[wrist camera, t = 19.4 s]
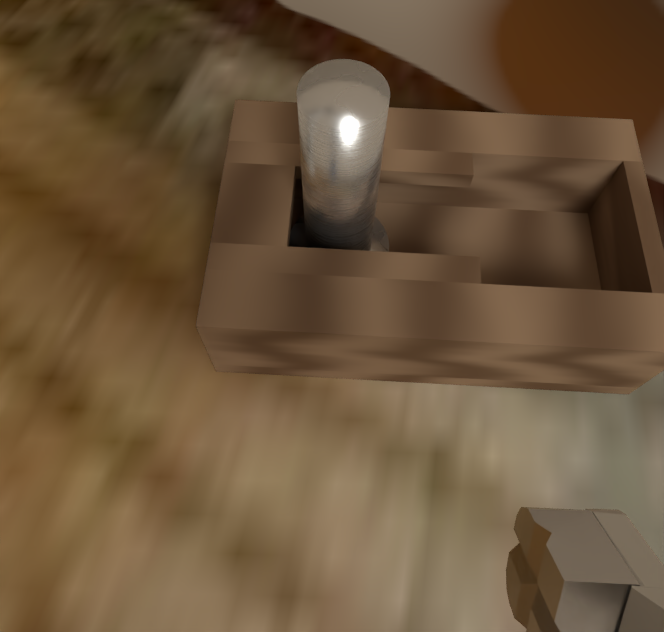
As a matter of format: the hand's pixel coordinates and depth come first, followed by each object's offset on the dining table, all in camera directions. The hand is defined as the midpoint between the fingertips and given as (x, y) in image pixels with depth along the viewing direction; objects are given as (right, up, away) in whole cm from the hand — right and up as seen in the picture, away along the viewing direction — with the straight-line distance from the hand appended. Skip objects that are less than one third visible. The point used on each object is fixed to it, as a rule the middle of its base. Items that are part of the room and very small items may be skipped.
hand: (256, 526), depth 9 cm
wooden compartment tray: (+6, +6, +25) cm, 27 cm away
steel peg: (+1, +7, +24) cm, 25 cm away
